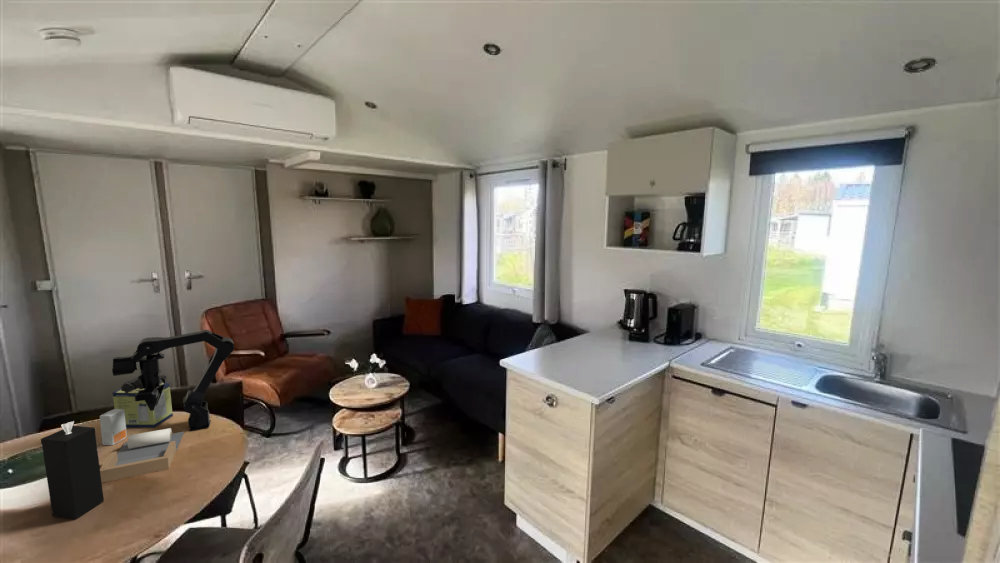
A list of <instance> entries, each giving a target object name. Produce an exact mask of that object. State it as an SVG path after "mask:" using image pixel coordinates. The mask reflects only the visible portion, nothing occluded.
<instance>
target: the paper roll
mask: <svg viewBox="0 0 1000 563" xmlns="http://www.w3.org/2000/svg"><path fill="white" fill-rule="evenodd" d="M172 434H173V431H172V428H171V427H169V428H164V429H159V430H158V429H157V430H153V431H145V432H142V433H139V432H138V433H134V434H129V436H127V437H128V438H127V442H128V448H129V449H132V448H138V447H143V446H149V445H154V444H160V443H165V442H170V441H171V439H172Z"/></svg>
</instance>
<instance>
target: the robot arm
mask: <svg viewBox="0 0 1000 563" xmlns="http://www.w3.org/2000/svg"><path fill="white" fill-rule="evenodd" d="M201 342H204V343H205V342H206V343H207V344H209V345H211V346H212V347H213V348H215V350H214V353H213V356H212V358H211V360H210V362H209V364H208V365H207V368H206V369H205V371H204V372H203V374H202V376H201V377H200V379H199V381H198V383H197V384H196V386H195V387H194V389H192V390H190V389H188V390H187V393H186V395H185V396H184V397H183V400H182V404H183V410H184V412H185V413H187V414H189V416H188V419H187V422H188V428H189V432H193V431H198V430H203V429H208V428H210V425H211V423H212V420H211V419H210V418H211V417H210V410H209V409H208V402H207V401H205V400H204V398H205V395H206V392H207V390H208V389H209V387H210V385H211V383H212V382H213V380H214V378H215V376H216V374H217V373H218V371H219V369H220V367H221V366H222V364H223V362H224V361H225V360H227V358H229V356H230V355H232V353H233V352H234V350H235V343H234V341H233V339H232V338H231V337H227V336H222V335H220V334H217V333H215V332H212V331H210V330H209V329H204V330H201V331H195V332H190V333H183V334H179V335H174V336H169V337H168V336H167V337H166V336H165V337H161V336H157V337H156V336H154V337H153V336H152V337H145V338H142V339H141V340H140V341H139V343H138V345H137V348H136V350H135V351H134V352H133V354H132V355H128V356H116V357H113V359H112V368H111V371H112V375H113V377H116V376H118V377H119V376H123V375H124V376H125V375H131V374H135V372H136V371H138V368H139V371H140V372H139V373H140V374H139V375H138V377H135V378H132V379H129V380H127V381H125V382H124V383H122V385H121V386H120V389H121V388H122V390H121V391H124V392H125V393H128V392H130V391H132V390H134V389H137V388H139V389H143V388H145V390H140V391H139V392H138V393H137V394H136V395H135V401H143V400H144V401H145V402H146V404H147V405H148V407H149V409H150V411H153V410H154V409H155V406H156V405H157V404H158V402H159V399H160V397H161V394H162V392H163V389H164V387H165V385H161V383H164V384H165V383H168V377H167V376H166V375H164V374H163V375H161V374H162V369H160V361H159V360H161V359H162V360H163V359H165V354H164V353H162V352H163V351H165V350H168V349H171V348H176V347H181V346H187V345H191V344H197V343H201ZM138 364H139V365H138Z"/></svg>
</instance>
